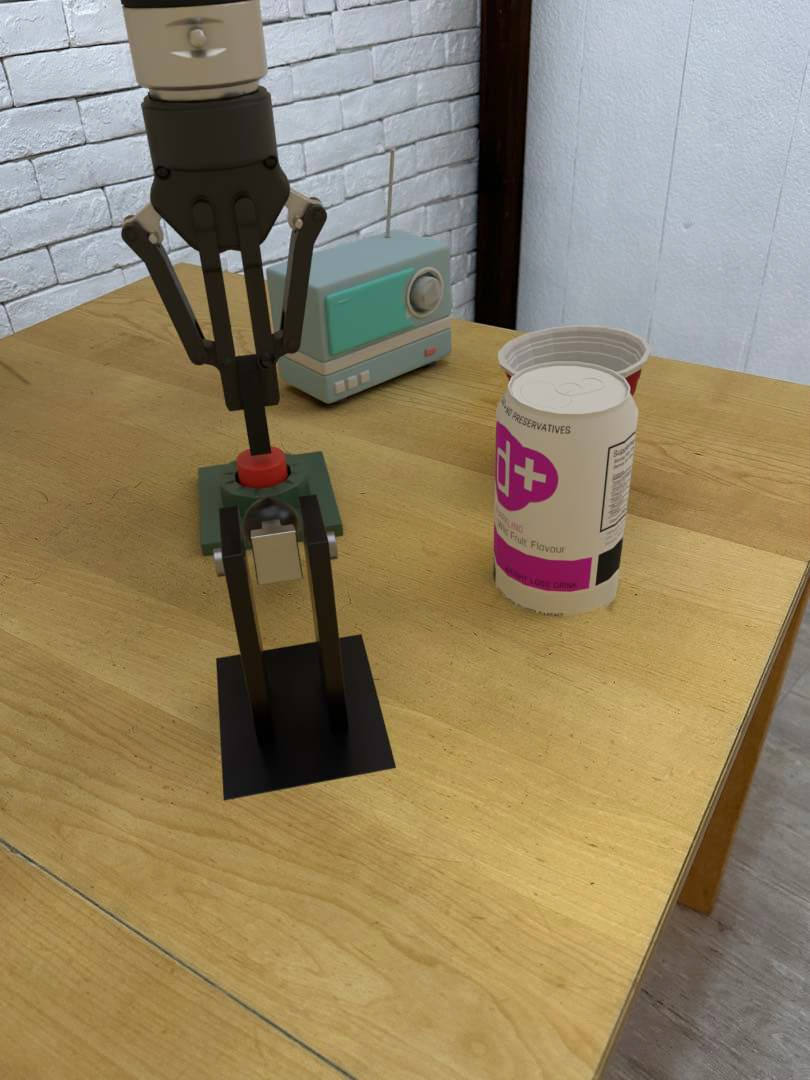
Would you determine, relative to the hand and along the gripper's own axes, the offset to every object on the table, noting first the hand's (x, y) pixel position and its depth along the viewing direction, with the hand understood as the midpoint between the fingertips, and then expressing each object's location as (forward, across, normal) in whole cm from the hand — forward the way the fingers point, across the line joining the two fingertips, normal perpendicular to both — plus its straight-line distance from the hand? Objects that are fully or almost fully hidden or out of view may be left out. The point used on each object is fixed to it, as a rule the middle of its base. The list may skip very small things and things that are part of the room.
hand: (259, 445), depth 66 cm
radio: (+7, +12, +23) cm, 27 cm away
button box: (+6, 0, 0) cm, 6 cm away
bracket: (+6, 0, -22) cm, 23 cm away
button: (+3, 0, 0) cm, 3 cm away
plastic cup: (+7, +23, -2) cm, 24 cm away
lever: (-1, 0, -17) cm, 17 cm away
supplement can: (+7, +18, -14) cm, 24 cm away
